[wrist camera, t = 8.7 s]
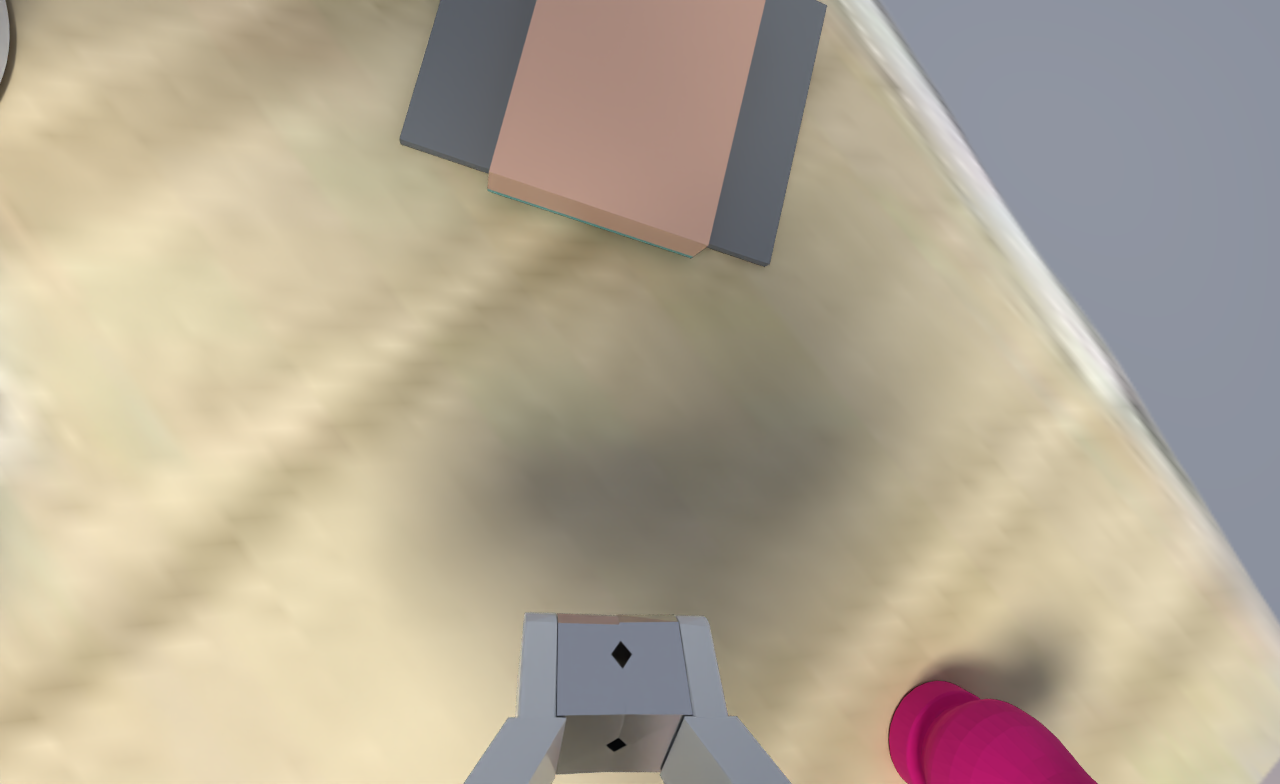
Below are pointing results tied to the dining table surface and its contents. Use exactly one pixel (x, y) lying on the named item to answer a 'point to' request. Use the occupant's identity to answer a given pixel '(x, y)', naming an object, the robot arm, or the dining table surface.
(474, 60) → the mat
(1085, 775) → the pepper mill
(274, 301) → the dining table surface
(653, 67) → the tile
